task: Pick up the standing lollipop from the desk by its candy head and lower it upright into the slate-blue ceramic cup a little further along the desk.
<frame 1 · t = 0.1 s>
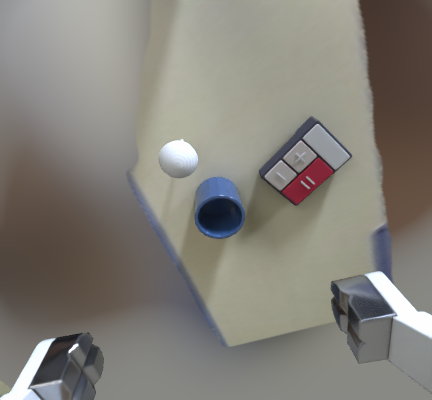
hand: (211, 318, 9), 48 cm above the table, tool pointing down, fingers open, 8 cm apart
lollipop: (182, 139, 55), on the table
cup: (217, 197, 61), on the table
calculator: (300, 160, 58), on the table
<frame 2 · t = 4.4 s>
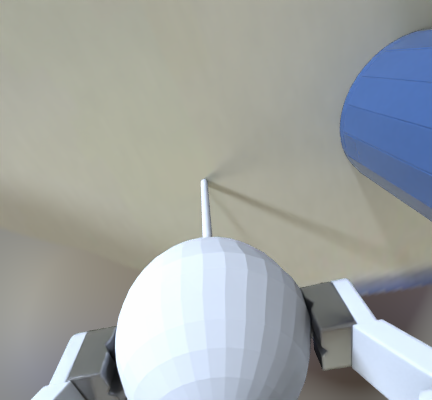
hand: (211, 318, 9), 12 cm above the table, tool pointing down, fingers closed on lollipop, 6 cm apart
lollipop: (204, 180, 20), on the table, touching gripper
cup: (411, 112, 18), on the table
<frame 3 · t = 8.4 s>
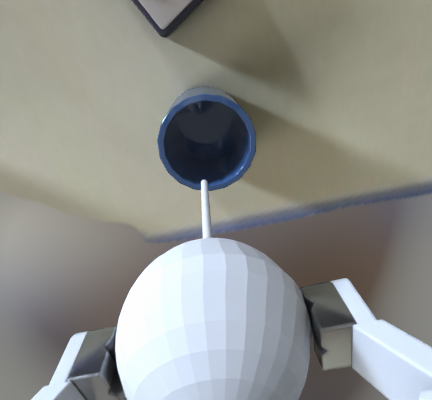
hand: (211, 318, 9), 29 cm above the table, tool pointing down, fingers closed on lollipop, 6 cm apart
lollipop: (204, 181, 20), point 17 cm above the table, touching gripper
cup: (205, 126, 35), on the table
when the fingers open (12 cm above the table, at t = 12.6 s): lollipop stays where it is, resting on cup.
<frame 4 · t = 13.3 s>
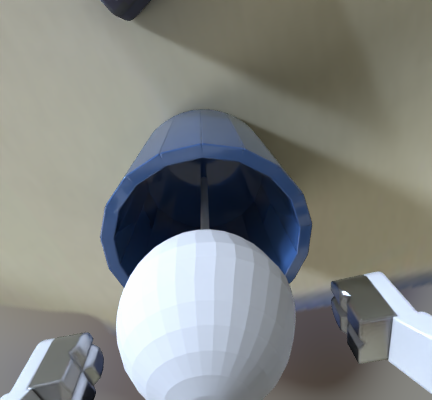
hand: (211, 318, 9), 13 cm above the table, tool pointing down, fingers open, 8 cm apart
lollipop: (203, 178, 20), resting on cup
cup: (204, 175, 21), on the table
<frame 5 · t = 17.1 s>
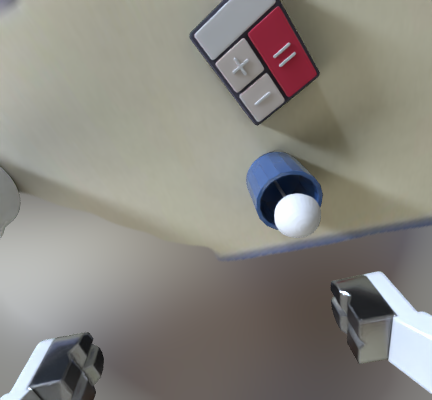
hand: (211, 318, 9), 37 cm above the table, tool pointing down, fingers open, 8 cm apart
lollipop: (274, 179, 47), resting on cup
cup: (273, 178, 48), on the table
calculator: (252, 55, 39), on the table
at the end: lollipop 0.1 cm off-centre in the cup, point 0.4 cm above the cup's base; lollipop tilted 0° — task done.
